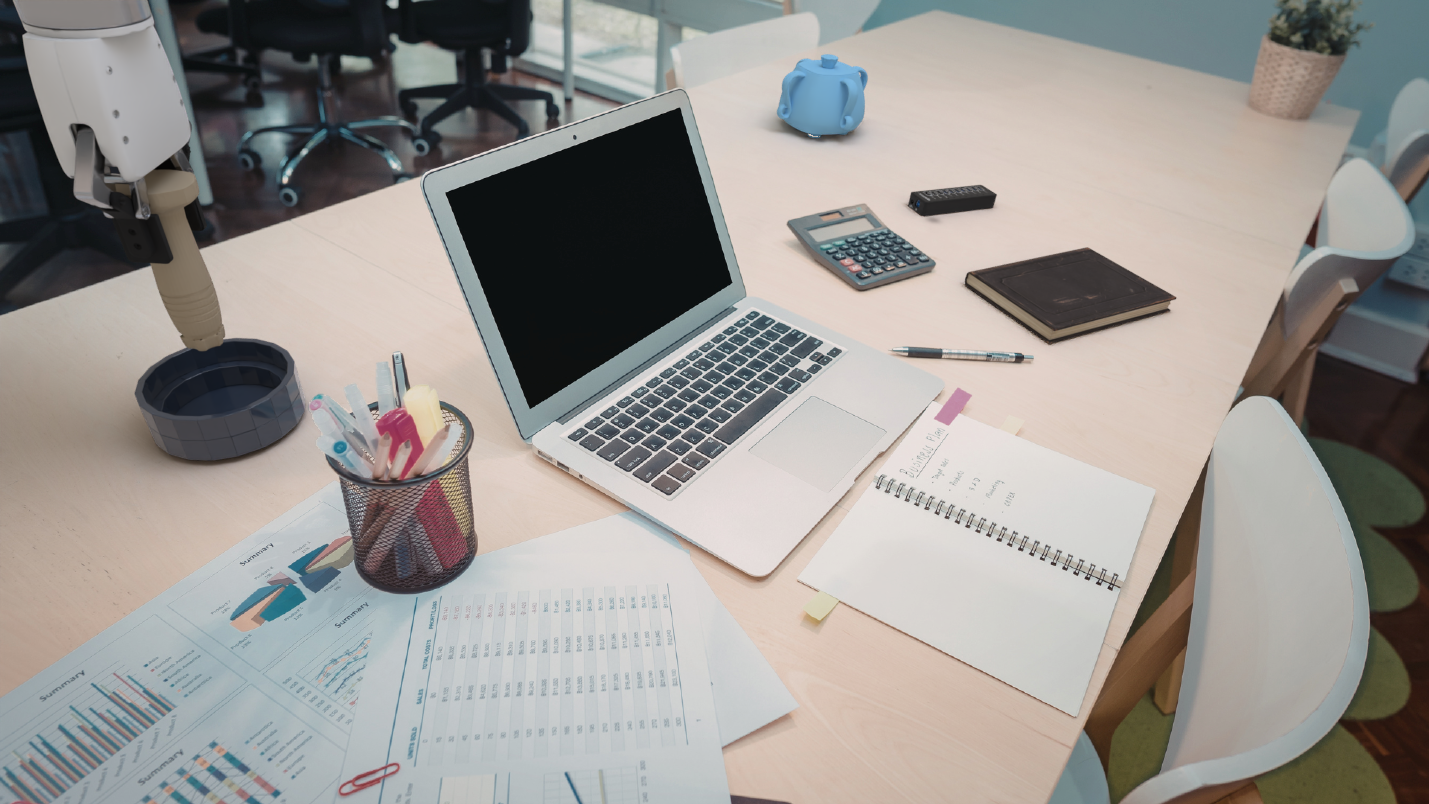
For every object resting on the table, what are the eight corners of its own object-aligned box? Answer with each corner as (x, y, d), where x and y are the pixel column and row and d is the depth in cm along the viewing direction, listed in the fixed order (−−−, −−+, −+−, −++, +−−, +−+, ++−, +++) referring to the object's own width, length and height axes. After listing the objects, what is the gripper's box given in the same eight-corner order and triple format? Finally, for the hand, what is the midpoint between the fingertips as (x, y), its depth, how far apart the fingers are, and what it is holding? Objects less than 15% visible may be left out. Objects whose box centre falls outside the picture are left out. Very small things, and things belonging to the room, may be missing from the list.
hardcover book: (1169, 311, 110) (1176, 297, 109) (1049, 344, 101) (1055, 329, 99) (1079, 259, 121) (1084, 245, 120) (962, 284, 112) (967, 269, 110)
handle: (171, 331, 73) (108, 171, 64) (250, 325, 75) (200, 168, 66) (158, 361, 69) (91, 196, 60) (242, 354, 71) (188, 192, 62)
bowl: (126, 463, 72) (104, 417, 69) (193, 378, 82) (177, 335, 79) (277, 467, 73) (262, 422, 70) (324, 383, 83) (313, 340, 80)
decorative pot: (846, 150, 150) (860, 74, 142) (765, 131, 155) (775, 57, 146) (868, 126, 163) (882, 54, 154) (792, 109, 167) (802, 39, 159)
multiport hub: (994, 207, 134) (998, 194, 133) (922, 216, 129) (925, 202, 128) (977, 197, 137) (981, 184, 136) (906, 205, 132) (909, 191, 131)
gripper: (94, -27, 62) (172, 199, 73) (-66, 28, 48) (59, 295, 59) (198, -19, 62) (259, 203, 73) (68, 38, 49) (167, 300, 60)
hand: (169, 242), depth 66 cm, fingers closed on handle, 5 cm apart
